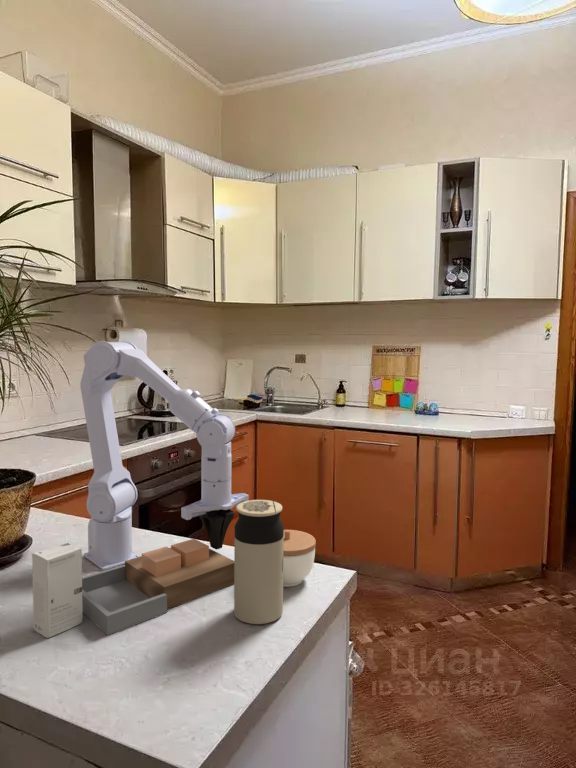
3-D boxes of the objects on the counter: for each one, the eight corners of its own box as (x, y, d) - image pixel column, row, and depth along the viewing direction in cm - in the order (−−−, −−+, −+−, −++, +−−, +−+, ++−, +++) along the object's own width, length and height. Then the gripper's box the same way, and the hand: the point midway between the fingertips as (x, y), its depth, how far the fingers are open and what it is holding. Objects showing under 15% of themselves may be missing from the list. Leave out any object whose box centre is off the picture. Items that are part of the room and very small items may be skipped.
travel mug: (230, 625, 84) (231, 513, 83) (237, 600, 92) (238, 498, 91) (281, 627, 84) (282, 514, 82) (284, 602, 92) (285, 499, 90)
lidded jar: (247, 584, 98) (247, 534, 97) (275, 563, 108) (276, 517, 107) (299, 598, 93) (300, 545, 92) (324, 574, 103) (325, 527, 102)
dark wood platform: (125, 582, 98) (124, 561, 98) (194, 559, 109) (194, 540, 108) (164, 610, 88) (164, 587, 88) (236, 583, 99) (236, 562, 98)
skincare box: (48, 639, 79) (46, 560, 78) (31, 630, 82) (29, 553, 81) (84, 622, 84) (83, 547, 83) (68, 613, 87) (67, 541, 86)
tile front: (141, 567, 96) (141, 553, 95) (166, 559, 99) (166, 546, 99) (155, 576, 92) (155, 562, 92) (181, 568, 95) (181, 554, 95)
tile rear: (171, 558, 100) (171, 545, 99) (193, 551, 103) (193, 538, 103) (185, 566, 96) (185, 553, 96) (208, 559, 99) (208, 546, 99)
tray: (67, 598, 92) (67, 581, 92) (123, 580, 99) (122, 564, 99) (107, 635, 81) (107, 616, 80) (167, 612, 88) (166, 594, 87)
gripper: (196, 489, 95) (196, 564, 96) (258, 476, 105) (258, 543, 106) (175, 481, 100) (175, 552, 101) (236, 469, 110) (236, 534, 111)
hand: (216, 547), depth 104 cm, fingers closed
